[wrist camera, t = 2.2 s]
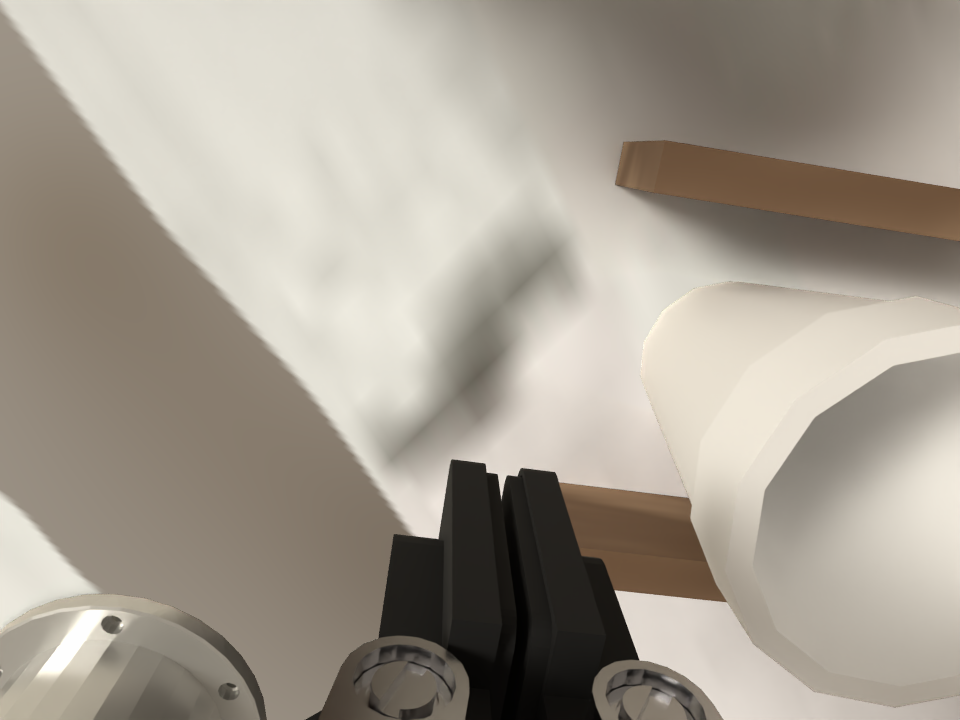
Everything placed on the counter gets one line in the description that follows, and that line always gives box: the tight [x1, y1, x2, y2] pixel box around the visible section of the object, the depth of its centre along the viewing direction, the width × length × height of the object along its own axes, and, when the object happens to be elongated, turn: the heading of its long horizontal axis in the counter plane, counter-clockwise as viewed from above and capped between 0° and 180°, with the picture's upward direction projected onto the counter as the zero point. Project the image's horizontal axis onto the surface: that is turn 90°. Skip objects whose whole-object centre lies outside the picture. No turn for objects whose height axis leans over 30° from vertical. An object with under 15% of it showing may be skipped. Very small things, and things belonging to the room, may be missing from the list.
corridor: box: [559, 140, 960, 602], centre depth 25 cm, size 15×14×6 cm
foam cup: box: [640, 281, 960, 707], centre depth 22 cm, size 10×9×13 cm
